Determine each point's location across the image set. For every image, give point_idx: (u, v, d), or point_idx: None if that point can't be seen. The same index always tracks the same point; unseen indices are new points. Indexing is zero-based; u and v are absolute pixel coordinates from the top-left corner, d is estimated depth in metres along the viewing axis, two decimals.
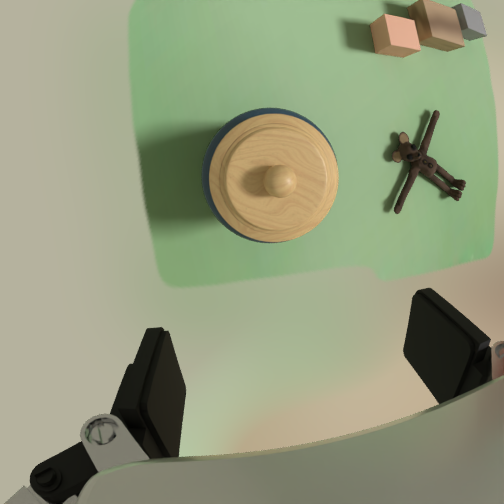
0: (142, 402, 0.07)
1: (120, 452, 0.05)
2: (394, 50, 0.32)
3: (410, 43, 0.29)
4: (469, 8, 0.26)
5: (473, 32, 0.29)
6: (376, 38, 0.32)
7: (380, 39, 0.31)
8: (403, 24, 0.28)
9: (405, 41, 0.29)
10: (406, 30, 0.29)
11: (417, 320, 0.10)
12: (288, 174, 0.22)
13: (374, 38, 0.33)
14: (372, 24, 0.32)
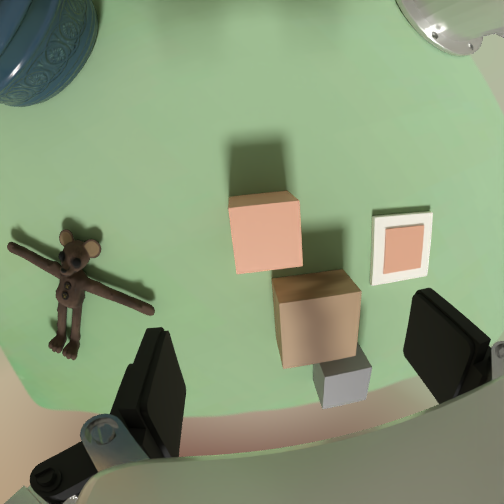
0: (142, 402, 0.07)
1: (120, 452, 0.05)
2: None
3: (244, 252, 0.22)
4: (366, 381, 0.28)
5: (321, 386, 0.29)
6: (255, 196, 0.25)
7: (249, 199, 0.24)
8: (285, 240, 0.22)
9: (246, 241, 0.22)
10: (273, 246, 0.22)
11: (417, 320, 0.10)
12: None
13: (256, 194, 0.25)
14: (285, 192, 0.25)
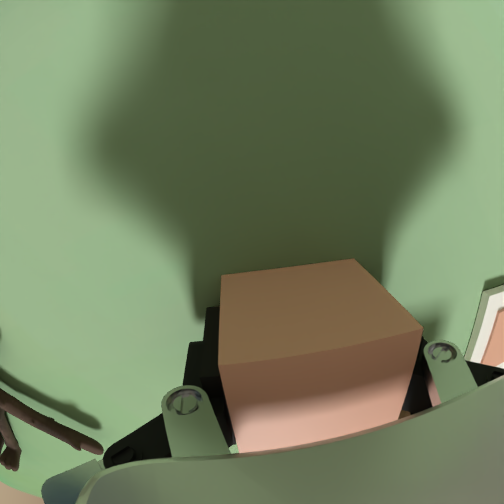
0: None
1: (197, 425, 0.06)
2: None
3: (265, 445, 0.07)
4: None
5: None
6: (286, 281, 0.10)
7: (275, 300, 0.09)
8: (367, 415, 0.07)
9: (269, 428, 0.07)
10: (336, 428, 0.07)
11: None
12: None
13: (288, 272, 0.11)
14: (355, 268, 0.10)
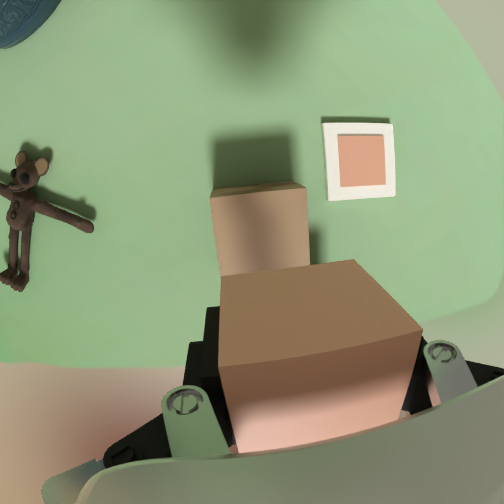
0: None
1: (197, 425, 0.06)
2: None
3: (265, 445, 0.07)
4: None
5: None
6: (286, 282, 0.10)
7: (275, 301, 0.09)
8: (367, 415, 0.07)
9: (269, 429, 0.07)
10: (335, 429, 0.07)
11: None
12: None
13: (288, 273, 0.11)
14: (355, 269, 0.10)
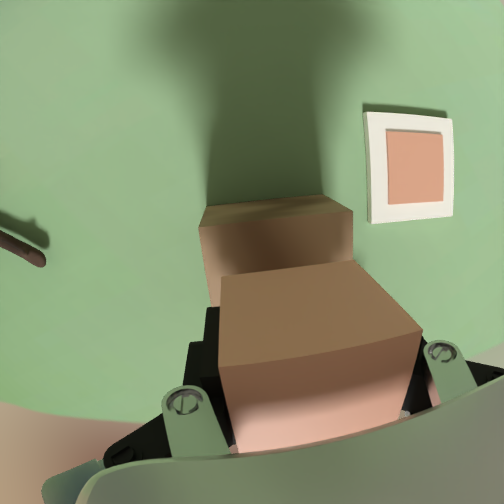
0: None
1: (197, 425, 0.06)
2: None
3: (265, 446, 0.07)
4: None
5: None
6: (286, 282, 0.10)
7: (275, 302, 0.09)
8: (366, 416, 0.07)
9: (269, 429, 0.07)
10: (335, 429, 0.07)
11: None
12: None
13: (288, 274, 0.11)
14: (355, 269, 0.10)
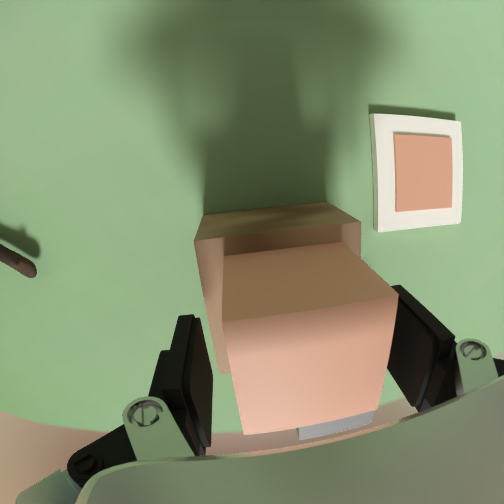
0: (184, 383, 0.07)
1: (160, 435, 0.06)
2: None
3: (262, 404, 0.09)
4: None
5: None
6: (280, 259, 0.11)
7: (271, 274, 0.10)
8: (354, 377, 0.09)
9: (266, 386, 0.09)
10: (326, 389, 0.09)
11: None
12: None
13: (283, 253, 0.12)
14: (342, 249, 0.12)
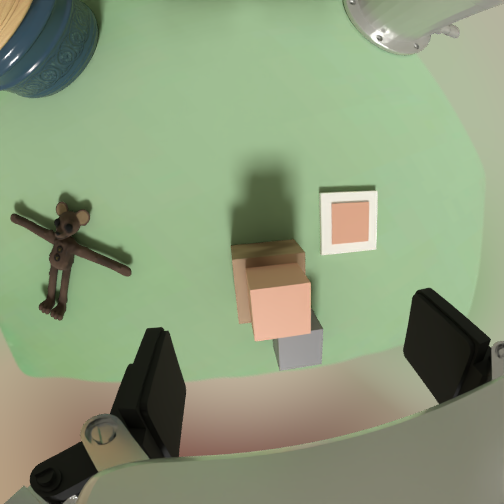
0: (142, 402, 0.07)
1: (120, 452, 0.05)
2: (249, 298, 0.27)
3: (262, 324, 0.26)
4: (319, 344, 0.33)
5: (277, 347, 0.33)
6: (269, 270, 0.28)
7: (265, 275, 0.27)
8: (297, 314, 0.26)
9: (264, 316, 0.25)
10: (286, 319, 0.26)
11: (417, 320, 0.10)
12: None
13: (270, 267, 0.29)
14: (296, 266, 0.29)
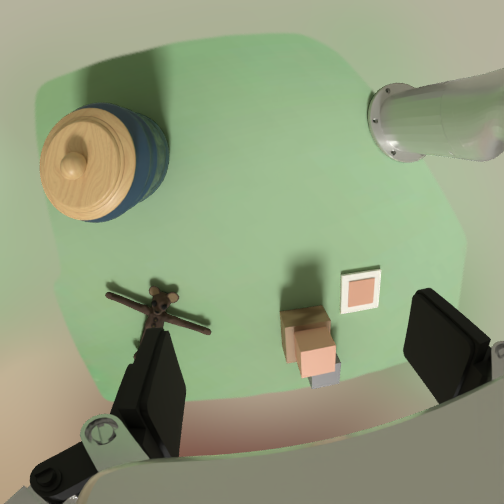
0: (141, 402, 0.07)
1: (120, 452, 0.05)
2: (298, 352, 0.42)
3: (307, 369, 0.41)
4: (338, 371, 0.48)
5: None
6: (309, 333, 0.43)
7: (308, 339, 0.42)
8: (327, 362, 0.41)
9: (308, 364, 0.40)
10: (321, 365, 0.41)
11: (417, 320, 0.10)
12: (73, 171, 0.23)
13: (310, 331, 0.44)
14: (325, 329, 0.43)
